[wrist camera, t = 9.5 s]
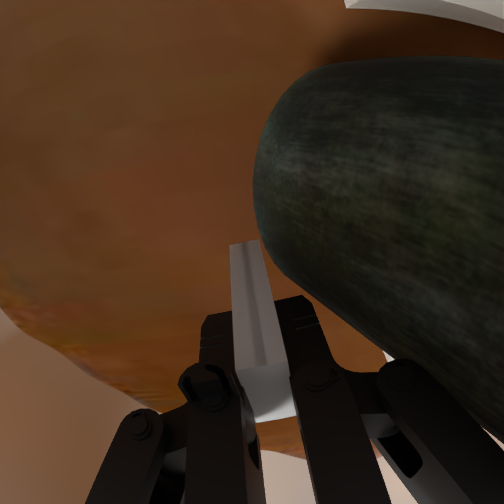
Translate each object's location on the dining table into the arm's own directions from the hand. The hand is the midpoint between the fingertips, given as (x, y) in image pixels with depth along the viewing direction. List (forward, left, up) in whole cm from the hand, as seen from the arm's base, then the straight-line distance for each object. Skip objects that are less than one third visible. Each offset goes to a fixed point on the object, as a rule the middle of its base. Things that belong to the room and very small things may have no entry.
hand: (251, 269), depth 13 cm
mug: (-1, +6, -2) cm, 6 cm away
